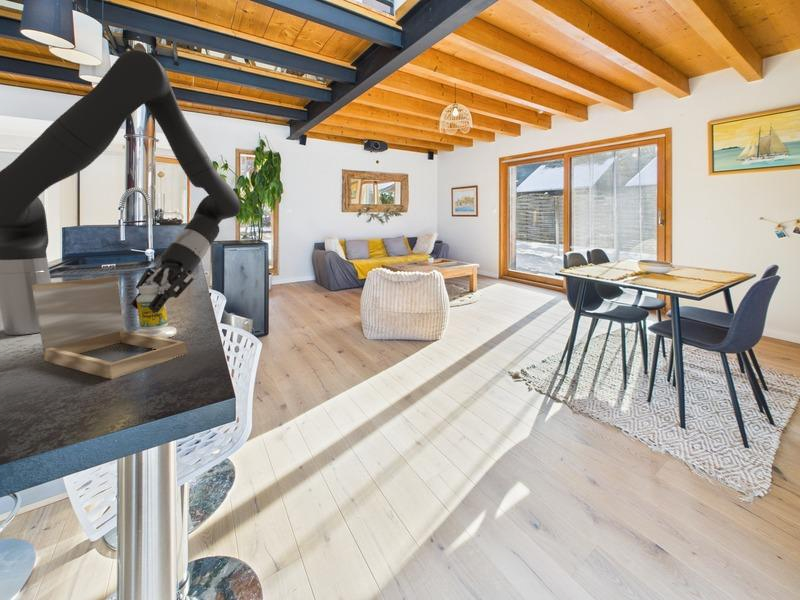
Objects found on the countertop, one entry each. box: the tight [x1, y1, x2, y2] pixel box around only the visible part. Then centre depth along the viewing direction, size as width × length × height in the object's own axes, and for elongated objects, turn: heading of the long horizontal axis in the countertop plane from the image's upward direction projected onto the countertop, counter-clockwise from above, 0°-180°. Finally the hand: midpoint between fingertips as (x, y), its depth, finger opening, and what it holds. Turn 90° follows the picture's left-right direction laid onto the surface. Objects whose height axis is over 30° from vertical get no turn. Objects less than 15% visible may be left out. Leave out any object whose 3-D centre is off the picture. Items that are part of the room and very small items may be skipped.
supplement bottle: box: [136, 284, 168, 330], centre depth 85 cm, size 5×5×10 cm
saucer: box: [132, 325, 178, 338], centre depth 86 cm, size 9×9×1 cm
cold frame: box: [31, 275, 188, 380], centre depth 71 cm, size 20×14×14 cm
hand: (143, 308), depth 83 cm, fingers closed on supplement bottle, 5 cm apart
